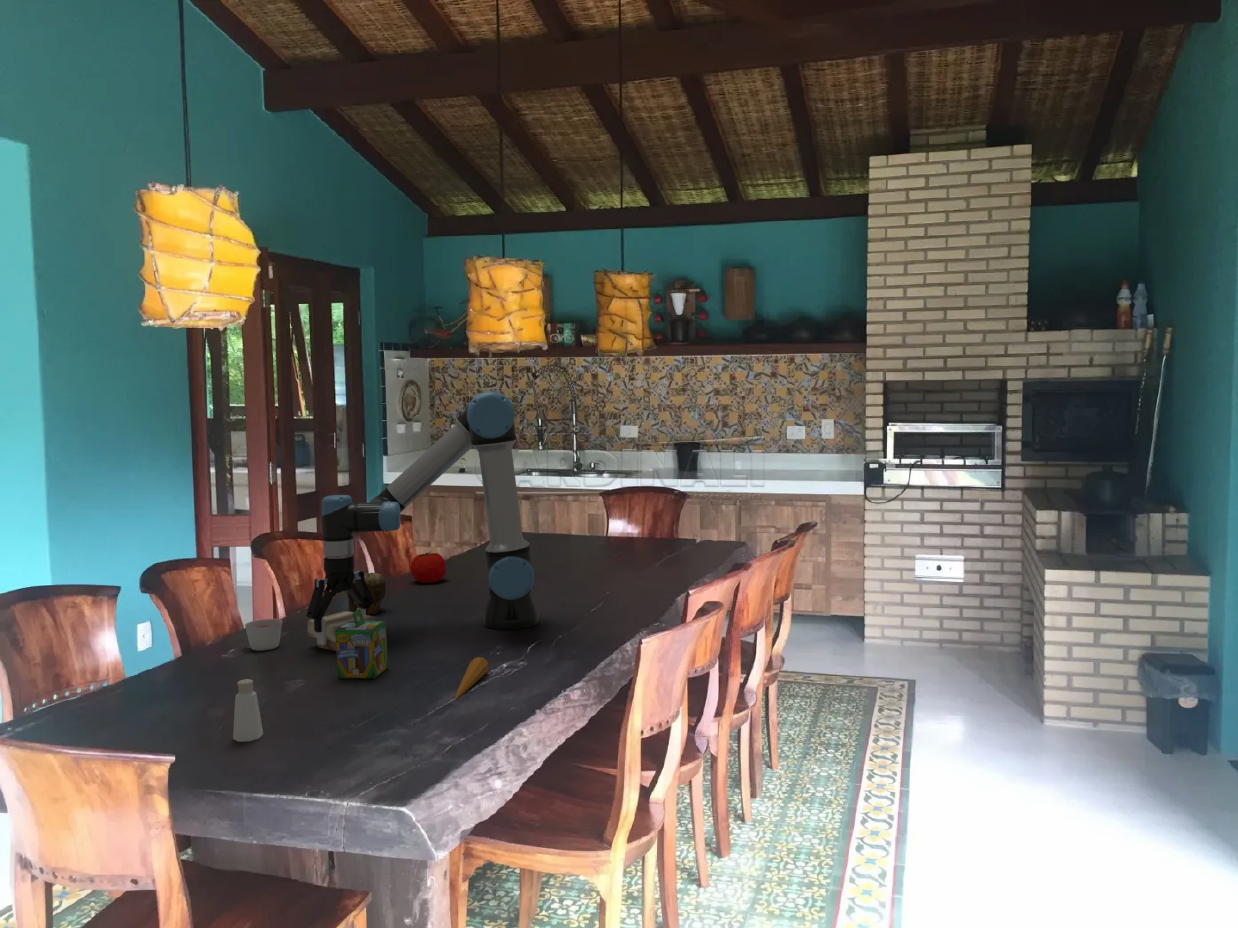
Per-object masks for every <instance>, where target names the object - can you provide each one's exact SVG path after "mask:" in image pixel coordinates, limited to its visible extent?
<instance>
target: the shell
mask: <svg viewBox="0 0 1238 928" xmlns="http://www.w3.org/2000/svg"><path fill="white" fill-rule="evenodd" d="M364 578H365V581H366V584H367V586H368V589H369V591H370V593H371V596H372V598H373V600H374V603H373V604H371V605H370V606H371V607H370V608H369V609H368V615H369V616H373V615H376V614H378V613H380V611H381V604H382V601H383V599H385V596H386V592H387V589H386V588H387V587H386V580H385V578H384V576H383V575H382V574H380V573H379V572H369V573H367V572H364ZM353 584H354V585H355V586H356V589H357V590H358V592H359V593H360V591H359V588H358V586H357V584H356V581H355V579H354V580H353ZM360 594H361V593H360ZM346 596H347V600H348V601H347V602H348V609H349V612H353V613H354V612H355V611H357V608H360V607H359V605H358V604H357V603H356V601H355V600H354V599H353V598H352V596H351V595H350V594H349V592H348V591H346ZM361 596H362V595H361Z"/></svg>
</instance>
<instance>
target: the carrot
mask: <svg viewBox="0 0 1238 928" xmlns="http://www.w3.org/2000/svg"><path fill="white" fill-rule="evenodd" d="M488 671H489V661H488V660H487V659H485V658H484V657H478V656H477V657H475V658H473V660H471V661H470V663H469V664H468V666H467V668H466V671H465V674H464V676H463V678H462V679H461V682H460V684H459V686H458V689H457V692H456V694H455V697H454V701H456V700H457V699H458V698H460V697H461V696H463V695H464V694H465V693H466V692H467V691H468V690H469V689H470V688H471V687H472V686H474V684H476V683H477V682H478V681H479V680H480V679H481V678H483V676H484V675H485V674H486V673H487V672H488Z"/></svg>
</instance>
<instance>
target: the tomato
mask: <svg viewBox="0 0 1238 928" xmlns="http://www.w3.org/2000/svg"><path fill="white" fill-rule="evenodd" d="M410 572H411V575H412V576H413V579H414V580H415V581H417V582H418V583H421V584H432V583H433V584H434V583H438V582H440V581H442V580H443V578H444V577H445V575H446V573H447V564H446V561H445V558H444V557H443V556H442V555H441V554H440V553H437V552H434V553H432V551H430V552H425V553H419V554H417V555H415V556H414V557H413V559H412V560H411V562H410Z"/></svg>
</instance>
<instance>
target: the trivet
mask: <svg viewBox="0 0 1238 928" xmlns="http://www.w3.org/2000/svg"><path fill="white" fill-rule="evenodd" d="M316 647H317V648H321V649H325V650H330V651H333V652H336V642H333V641H329V640H326V645H321V644H317V643H316Z"/></svg>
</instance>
